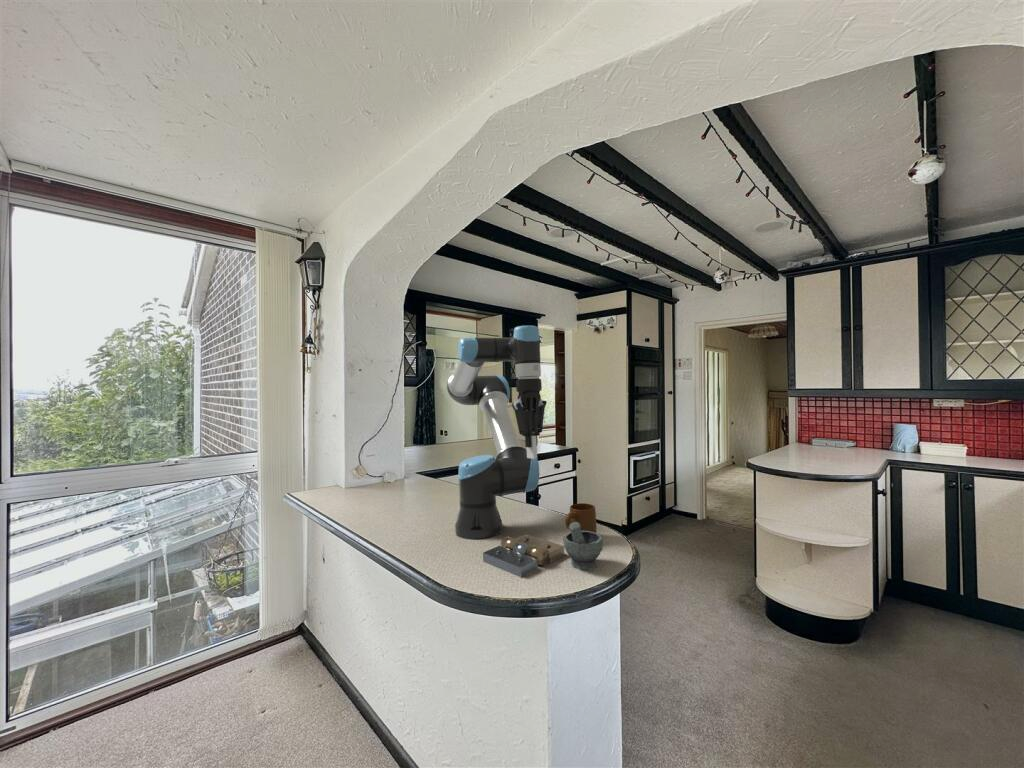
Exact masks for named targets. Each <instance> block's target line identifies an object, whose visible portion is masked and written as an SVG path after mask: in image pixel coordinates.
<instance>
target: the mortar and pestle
mask: <svg viewBox="0 0 1024 768" xmlns="http://www.w3.org/2000/svg"><path fill="white" fill-rule="evenodd" d="M580 528H581V526H580V524H579V523H578V522H573V523H571V524H570V526H569V529H570V530H569V529H568V530H569V532H567V533H566V534H564V535H563V536H562V541H563V546H564V551H565V552H566V554H567V555H568V557H569V559H571V562H570V563H571V564H570V565H571V566H572V567H573V568H574V569H577V570H579V571H580V570H583V571H590V570H592V569H595V568H596V567H597V564H598V563H597V561H596V560H597V558H599V556H600V555H601V552H602V551H603V545H604V541H603V540H604V539H603V538H604V537H602V535H601V534H600V533H598V532H597V533H595V532H591V531H581V529H580Z"/></svg>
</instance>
